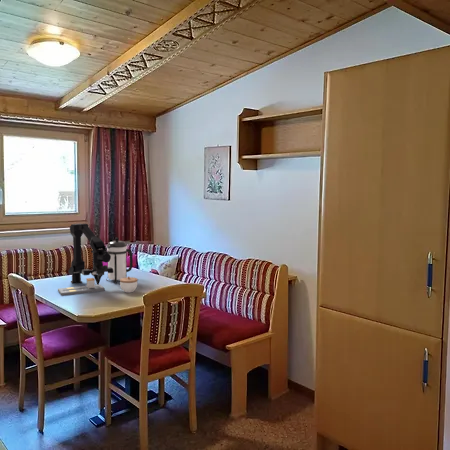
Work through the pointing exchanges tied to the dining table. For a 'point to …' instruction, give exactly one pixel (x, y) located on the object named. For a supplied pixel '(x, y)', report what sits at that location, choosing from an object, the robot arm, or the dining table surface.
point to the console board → (80, 290)
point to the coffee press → (118, 260)
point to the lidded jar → (128, 284)
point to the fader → (90, 282)
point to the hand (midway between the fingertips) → (97, 284)
